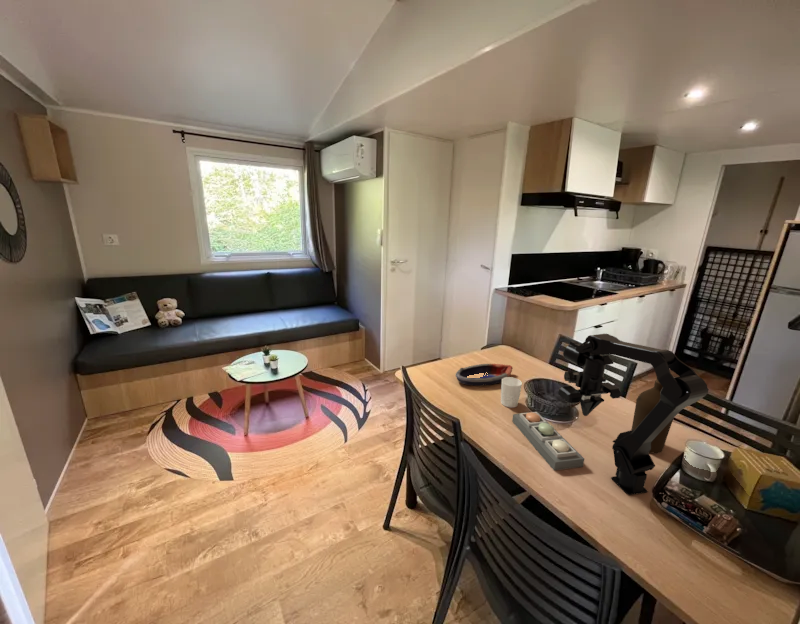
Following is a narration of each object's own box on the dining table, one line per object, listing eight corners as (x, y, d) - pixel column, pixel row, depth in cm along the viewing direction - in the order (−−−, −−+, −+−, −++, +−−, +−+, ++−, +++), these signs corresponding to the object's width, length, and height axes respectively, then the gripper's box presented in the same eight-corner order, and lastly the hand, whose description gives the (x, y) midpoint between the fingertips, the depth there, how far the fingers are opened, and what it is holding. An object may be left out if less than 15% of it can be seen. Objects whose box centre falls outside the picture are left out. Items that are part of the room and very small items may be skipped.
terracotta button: (542, 423, 122) (543, 419, 122) (530, 424, 121) (530, 420, 121) (534, 415, 127) (535, 411, 126) (523, 416, 126) (523, 413, 125)
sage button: (556, 434, 114) (557, 430, 114) (543, 436, 113) (544, 431, 113) (548, 426, 119) (548, 422, 118) (535, 427, 118) (536, 423, 117)
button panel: (582, 466, 106) (585, 455, 105) (553, 470, 104) (555, 458, 103) (536, 418, 130) (537, 408, 129) (512, 421, 129) (513, 411, 127)
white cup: (499, 406, 138) (502, 384, 135) (498, 397, 145) (501, 376, 143) (519, 409, 136) (522, 387, 134) (518, 399, 144) (521, 378, 141)
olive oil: (647, 457, 111) (665, 388, 104) (619, 437, 120) (634, 373, 113) (672, 452, 113) (692, 384, 106) (643, 433, 123) (659, 370, 116)
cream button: (571, 453, 107) (572, 448, 107) (557, 454, 106) (558, 450, 106) (562, 443, 112) (562, 439, 111) (548, 444, 111) (549, 440, 110)
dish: (448, 376, 164) (448, 366, 162) (502, 368, 173) (503, 359, 172) (464, 392, 150) (465, 381, 148) (522, 382, 159) (523, 372, 158)
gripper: (599, 359, 117) (591, 399, 121) (551, 363, 113) (544, 404, 118) (626, 374, 107) (616, 417, 111) (574, 379, 103) (566, 423, 107)
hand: (584, 415), depth 112 cm, fingers closed
